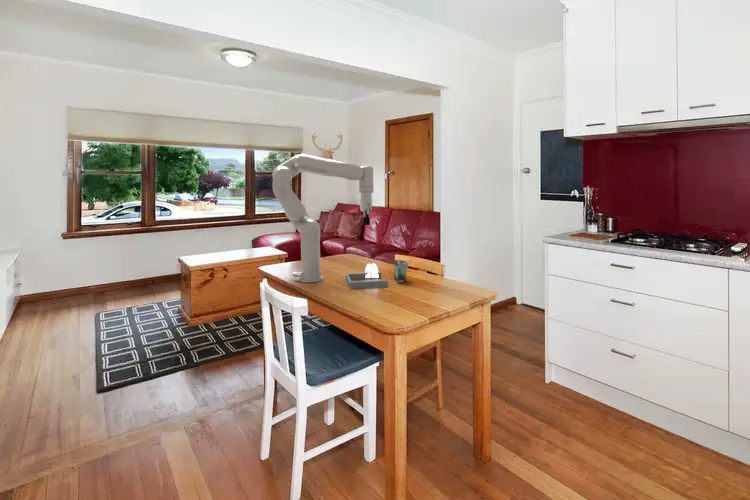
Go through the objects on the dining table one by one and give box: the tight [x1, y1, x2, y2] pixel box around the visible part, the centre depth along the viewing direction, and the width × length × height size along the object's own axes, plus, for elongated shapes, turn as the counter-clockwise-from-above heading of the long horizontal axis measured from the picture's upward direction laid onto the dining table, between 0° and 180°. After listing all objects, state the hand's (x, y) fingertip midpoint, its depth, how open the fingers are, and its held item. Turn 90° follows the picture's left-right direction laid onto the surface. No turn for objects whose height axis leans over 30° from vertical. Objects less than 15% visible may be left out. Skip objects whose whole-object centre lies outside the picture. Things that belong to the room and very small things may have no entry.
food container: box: [393, 259, 409, 285], centre depth 212 cm, size 12×6×10 cm, turn 8°
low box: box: [344, 271, 389, 290], centre depth 209 cm, size 19×18×3 cm
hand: (366, 224), depth 223 cm, fingers closed
